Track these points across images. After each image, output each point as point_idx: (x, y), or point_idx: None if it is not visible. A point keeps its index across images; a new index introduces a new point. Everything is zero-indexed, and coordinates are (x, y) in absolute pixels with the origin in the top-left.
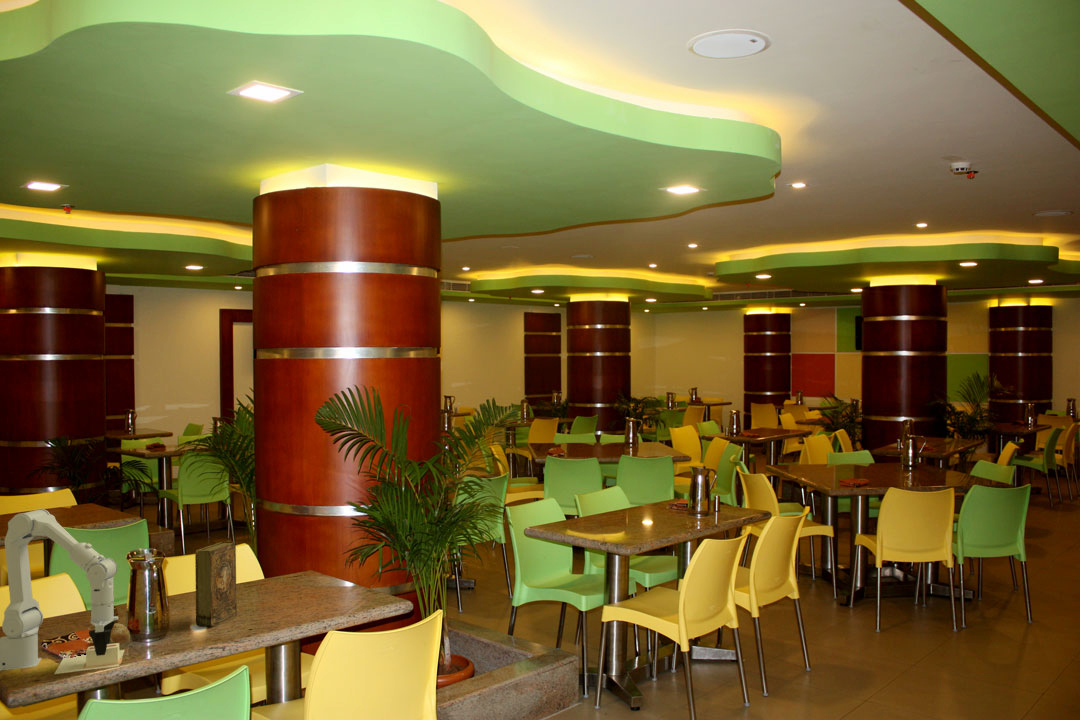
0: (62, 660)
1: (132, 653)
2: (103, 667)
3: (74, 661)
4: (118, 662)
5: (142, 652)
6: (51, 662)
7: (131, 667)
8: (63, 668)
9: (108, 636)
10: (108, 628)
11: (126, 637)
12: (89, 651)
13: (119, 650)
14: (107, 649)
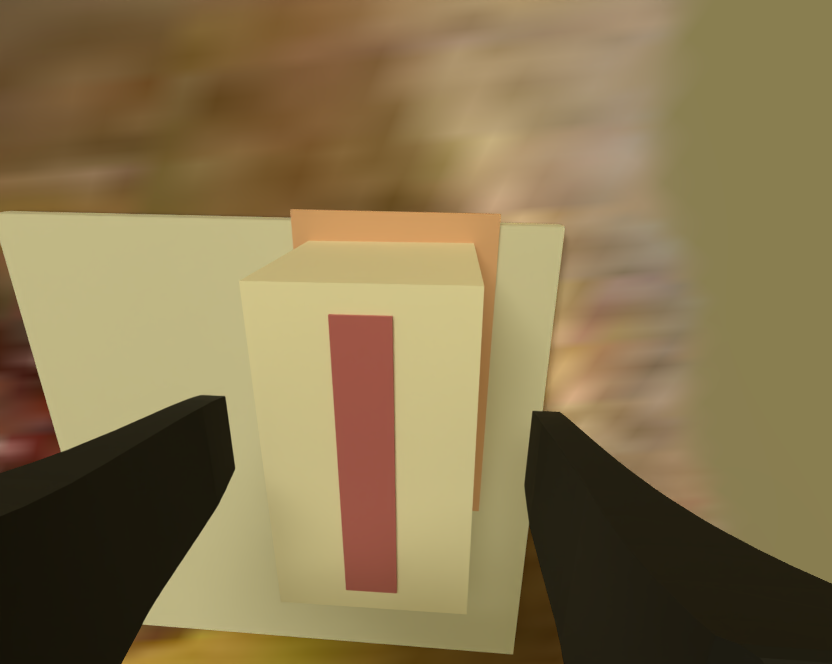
0: (197, 626)
1: (82, 126)
2: (534, 362)
3: (248, 564)
4: (445, 239)
5: (65, 11)
6: (177, 660)
7: (606, 90)
8: (402, 614)
9: (811, 577)
10: (22, 582)
11: None
12: (466, 579)
13: (12, 262)
14: (477, 408)
